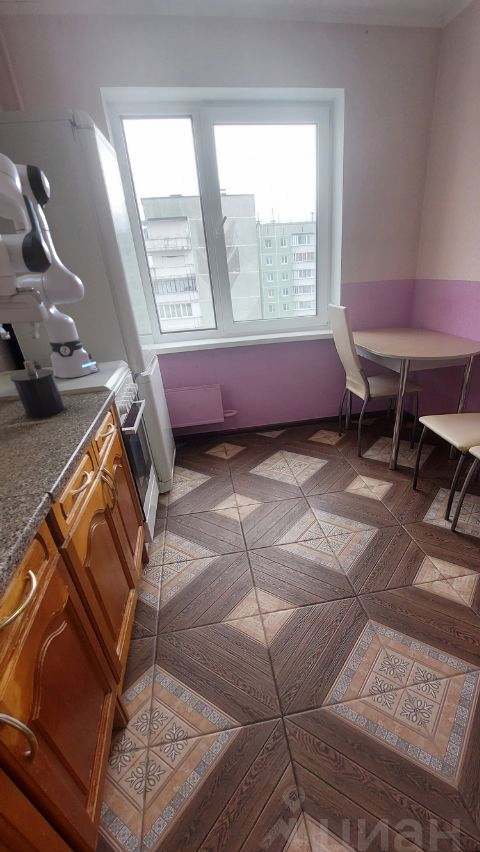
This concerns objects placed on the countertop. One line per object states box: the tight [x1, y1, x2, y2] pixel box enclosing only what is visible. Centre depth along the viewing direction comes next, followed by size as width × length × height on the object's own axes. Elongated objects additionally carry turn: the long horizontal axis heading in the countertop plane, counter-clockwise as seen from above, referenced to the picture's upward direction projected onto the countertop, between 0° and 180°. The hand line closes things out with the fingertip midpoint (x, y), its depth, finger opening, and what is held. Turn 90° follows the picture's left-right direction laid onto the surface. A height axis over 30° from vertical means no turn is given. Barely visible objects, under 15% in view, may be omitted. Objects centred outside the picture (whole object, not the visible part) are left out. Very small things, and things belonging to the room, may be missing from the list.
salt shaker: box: [33, 359, 43, 370], centre depth 145 cm, size 6×6×12 cm
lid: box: [10, 360, 54, 383], centre depth 119 cm, size 12×12×5 cm
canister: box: [13, 375, 66, 419], centre depth 124 cm, size 11×11×12 cm
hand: (21, 338), depth 116 cm, fingers open, 8 cm apart
